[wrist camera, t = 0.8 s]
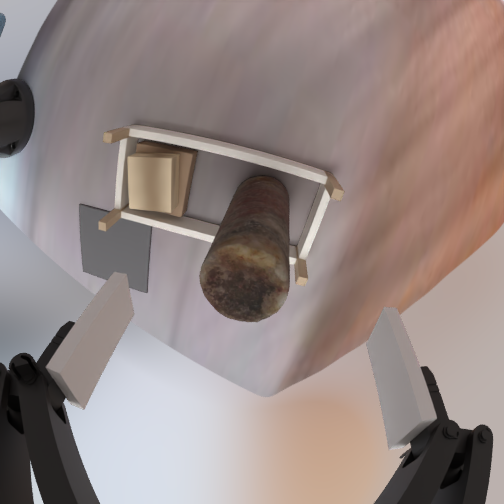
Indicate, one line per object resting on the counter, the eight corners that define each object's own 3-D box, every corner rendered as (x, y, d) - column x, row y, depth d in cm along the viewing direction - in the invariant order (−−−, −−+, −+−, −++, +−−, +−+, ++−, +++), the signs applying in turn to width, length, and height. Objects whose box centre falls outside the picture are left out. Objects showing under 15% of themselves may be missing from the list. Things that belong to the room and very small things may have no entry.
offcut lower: (138, 197, 41) (130, 204, 38) (146, 140, 36) (136, 143, 34) (187, 209, 41) (181, 217, 39) (198, 150, 37) (192, 154, 34)
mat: (84, 270, 48) (83, 271, 48) (80, 203, 41) (79, 204, 41) (147, 292, 49) (146, 293, 49) (152, 223, 42) (151, 224, 42)
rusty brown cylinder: (240, 228, 41) (213, 327, 24) (227, 180, 38) (183, 255, 21) (293, 218, 40) (302, 316, 23) (283, 168, 37) (287, 236, 19)
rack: (124, 206, 41) (98, 229, 34) (134, 124, 35) (103, 132, 28) (301, 254, 43) (304, 286, 36) (331, 173, 36) (344, 191, 29)
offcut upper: (138, 200, 38) (129, 208, 35) (137, 152, 34) (127, 156, 32) (178, 204, 38) (171, 212, 35) (179, 153, 34) (171, 158, 32)
